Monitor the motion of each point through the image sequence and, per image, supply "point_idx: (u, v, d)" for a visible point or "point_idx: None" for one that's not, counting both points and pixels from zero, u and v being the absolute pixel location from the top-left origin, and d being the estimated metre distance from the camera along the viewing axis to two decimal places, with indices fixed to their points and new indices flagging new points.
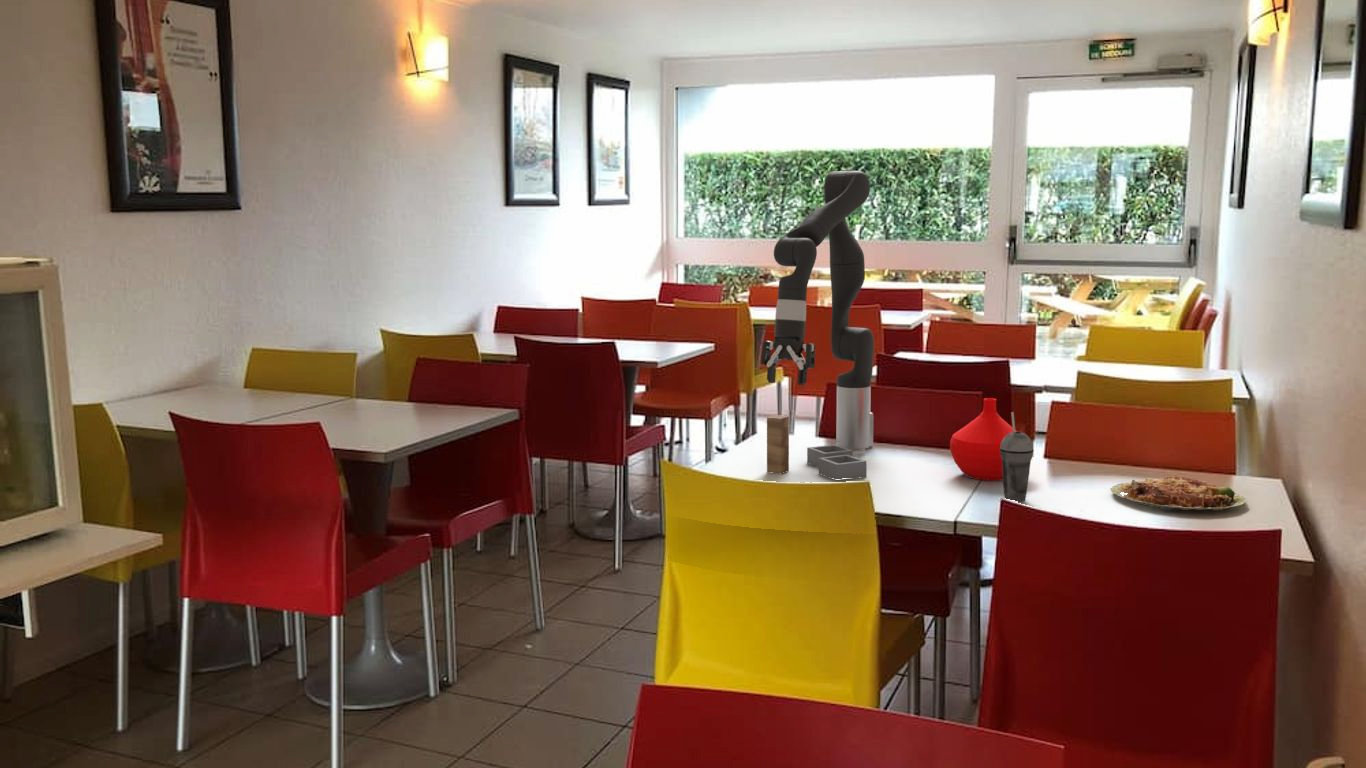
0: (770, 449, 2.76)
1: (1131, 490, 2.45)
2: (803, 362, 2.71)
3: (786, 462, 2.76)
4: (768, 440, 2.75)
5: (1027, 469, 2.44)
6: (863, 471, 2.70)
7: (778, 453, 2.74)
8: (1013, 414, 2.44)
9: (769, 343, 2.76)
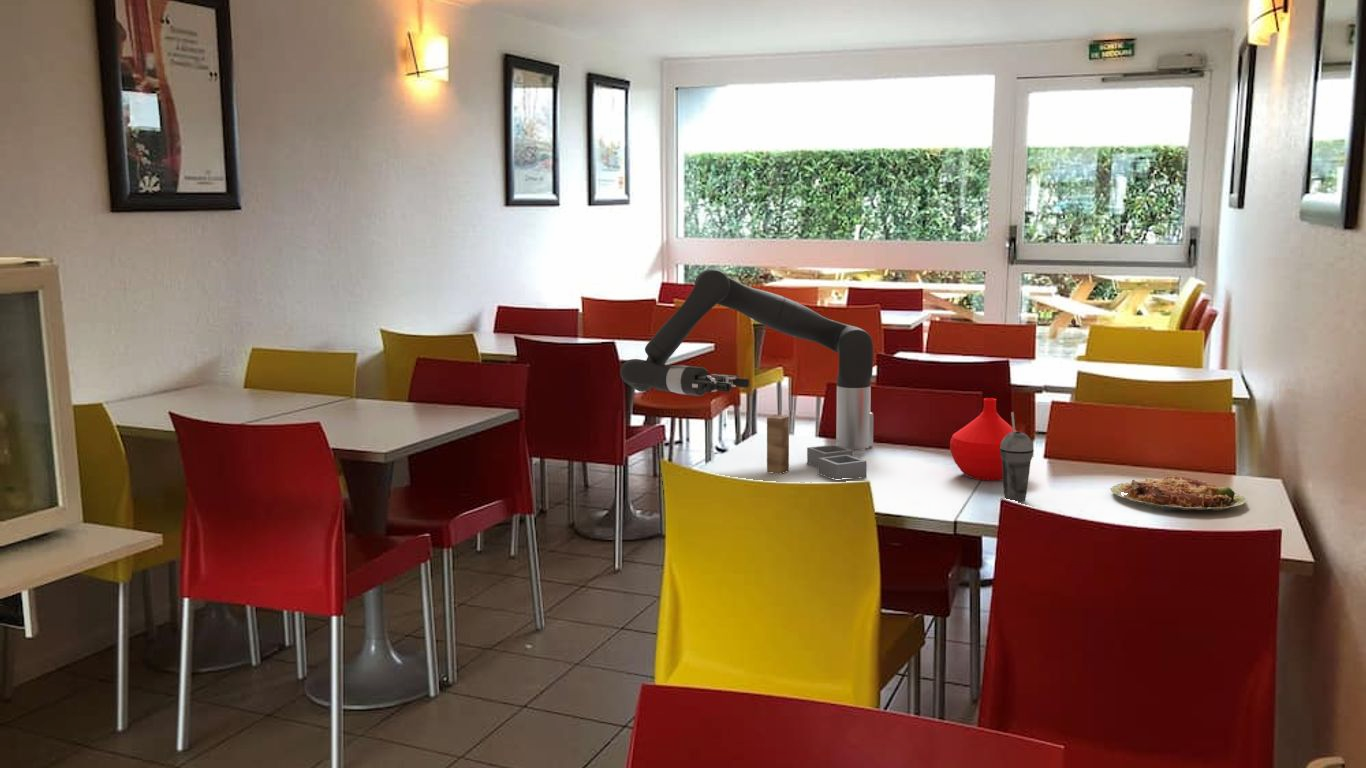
0: (770, 449, 2.76)
1: (1131, 490, 2.45)
2: None
3: (786, 462, 2.76)
4: (768, 440, 2.75)
5: (1027, 469, 2.44)
6: (863, 471, 2.70)
7: (778, 453, 2.74)
8: (1013, 414, 2.44)
9: None
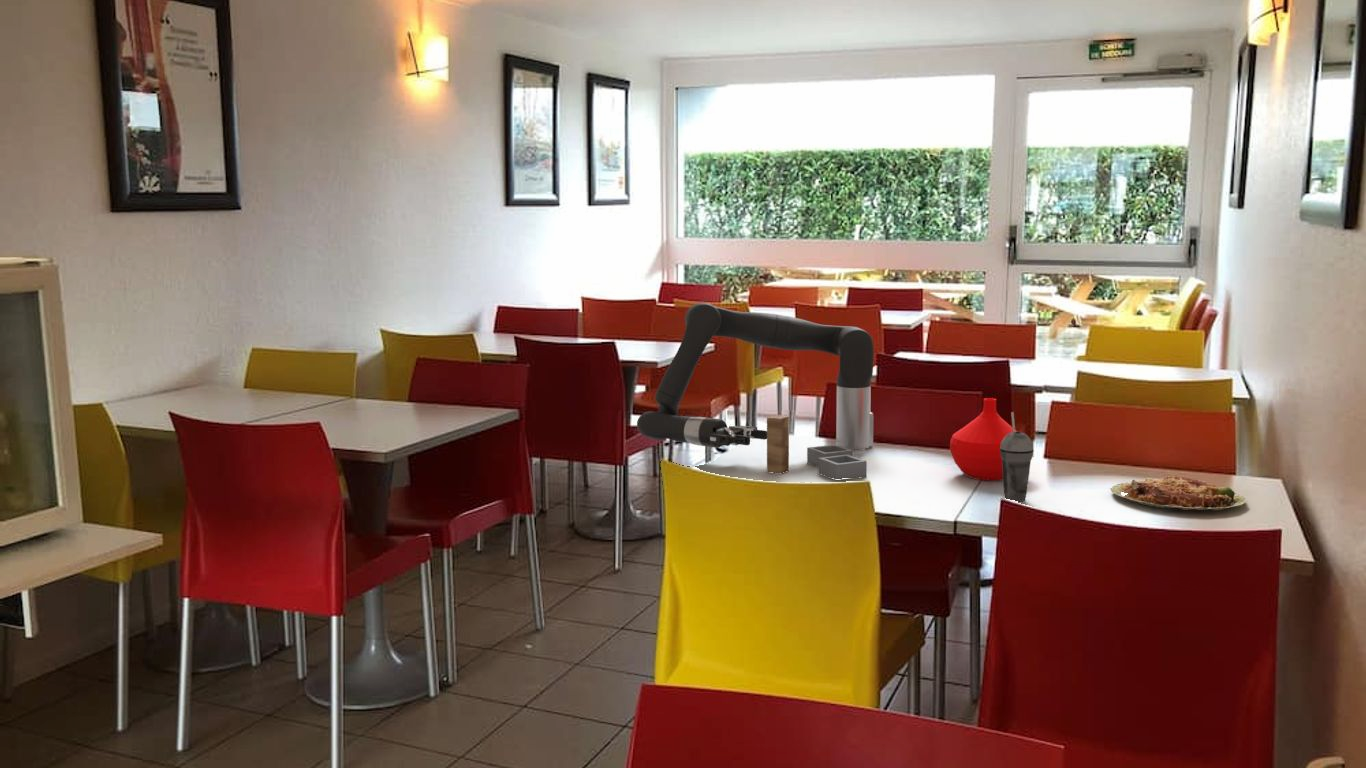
0: (770, 449, 2.76)
1: (1131, 490, 2.45)
2: (730, 435, 2.79)
3: (786, 462, 2.76)
4: (768, 440, 2.75)
5: (1027, 469, 2.44)
6: (863, 471, 2.70)
7: (778, 453, 2.74)
8: (1013, 414, 2.44)
9: None
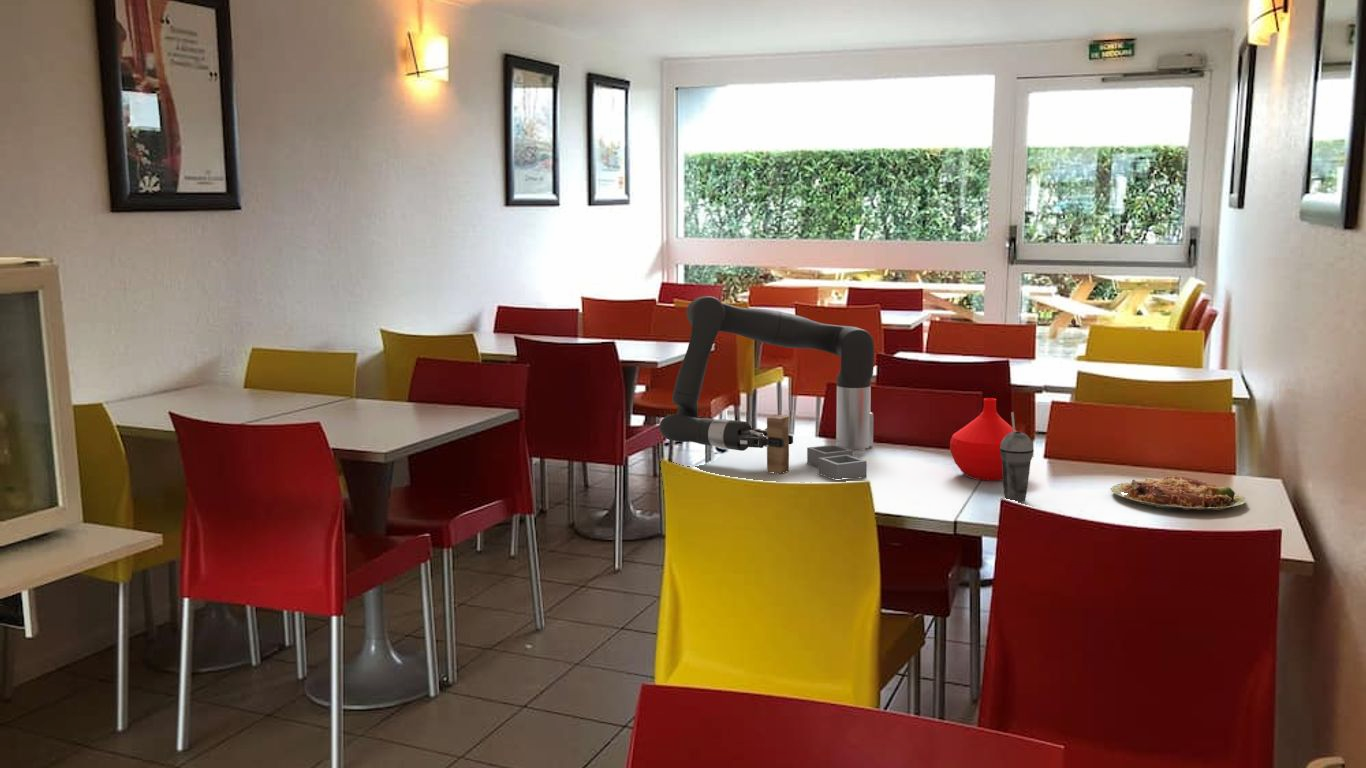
0: (770, 449, 2.76)
1: (1131, 490, 2.45)
2: None
3: (786, 462, 2.77)
4: None
5: (1027, 469, 2.44)
6: (863, 471, 2.70)
7: (778, 453, 2.74)
8: (1013, 414, 2.44)
9: None
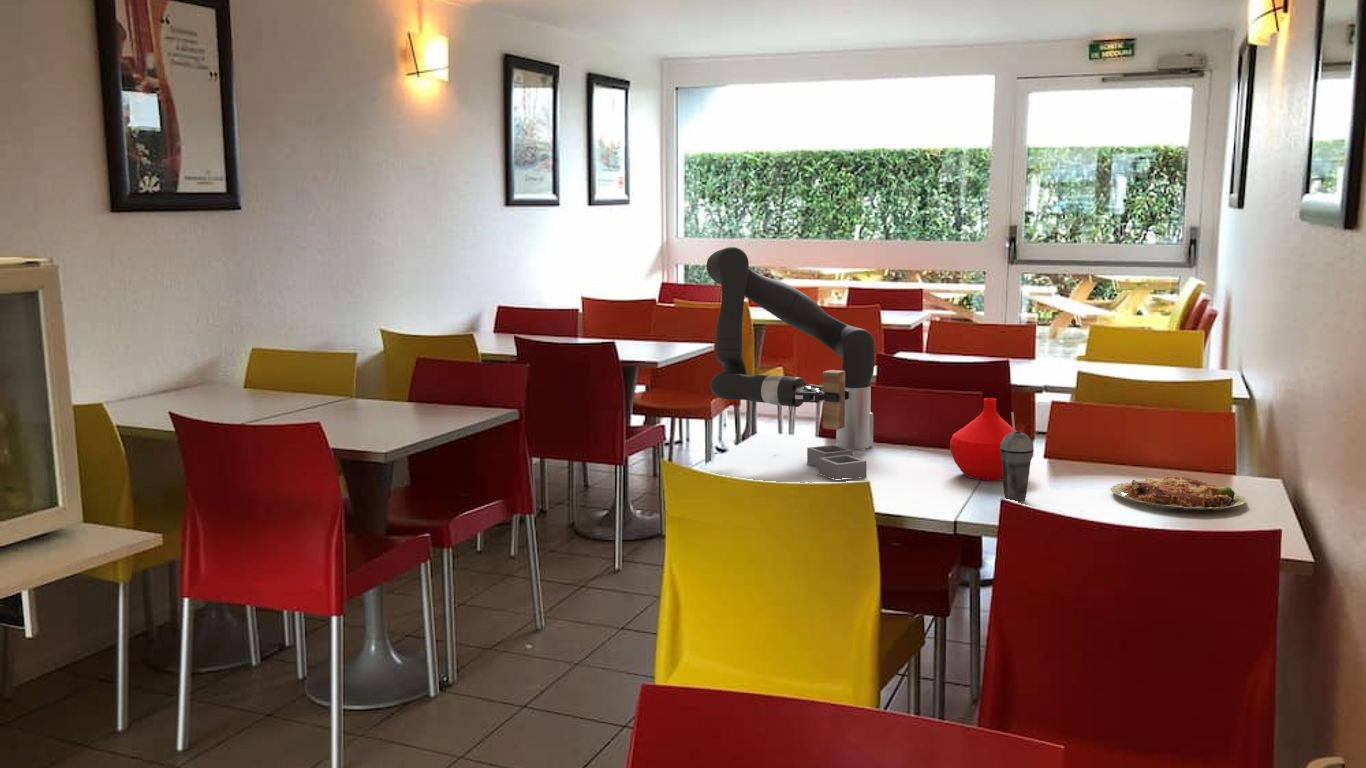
0: (826, 405, 2.70)
1: (1131, 490, 2.45)
2: None
3: (842, 418, 2.70)
4: None
5: (1027, 469, 2.44)
6: (863, 471, 2.70)
7: (834, 408, 2.68)
8: (1013, 414, 2.44)
9: None
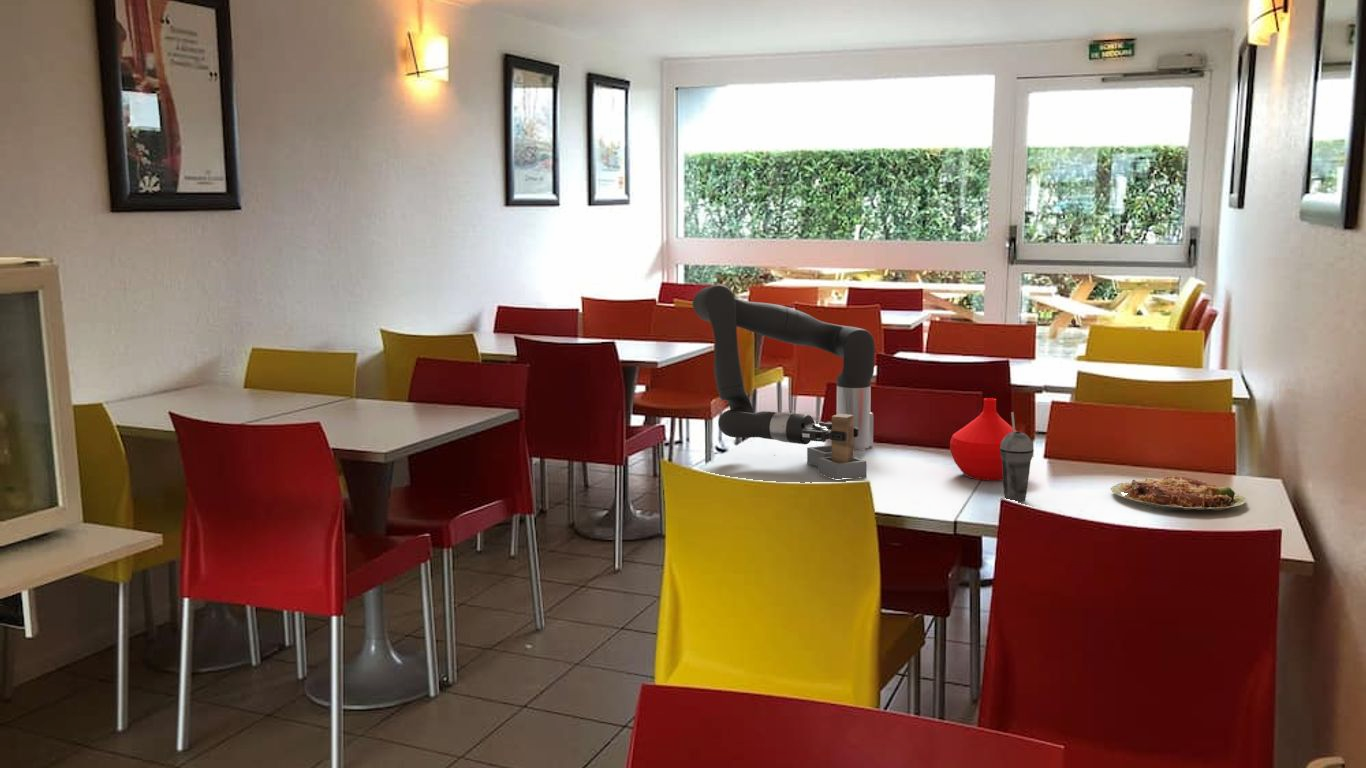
0: (834, 449, 2.70)
1: (1131, 490, 2.45)
2: None
3: None
4: None
5: (1027, 469, 2.44)
6: (863, 471, 2.70)
7: (843, 453, 2.69)
8: (1013, 414, 2.44)
9: None
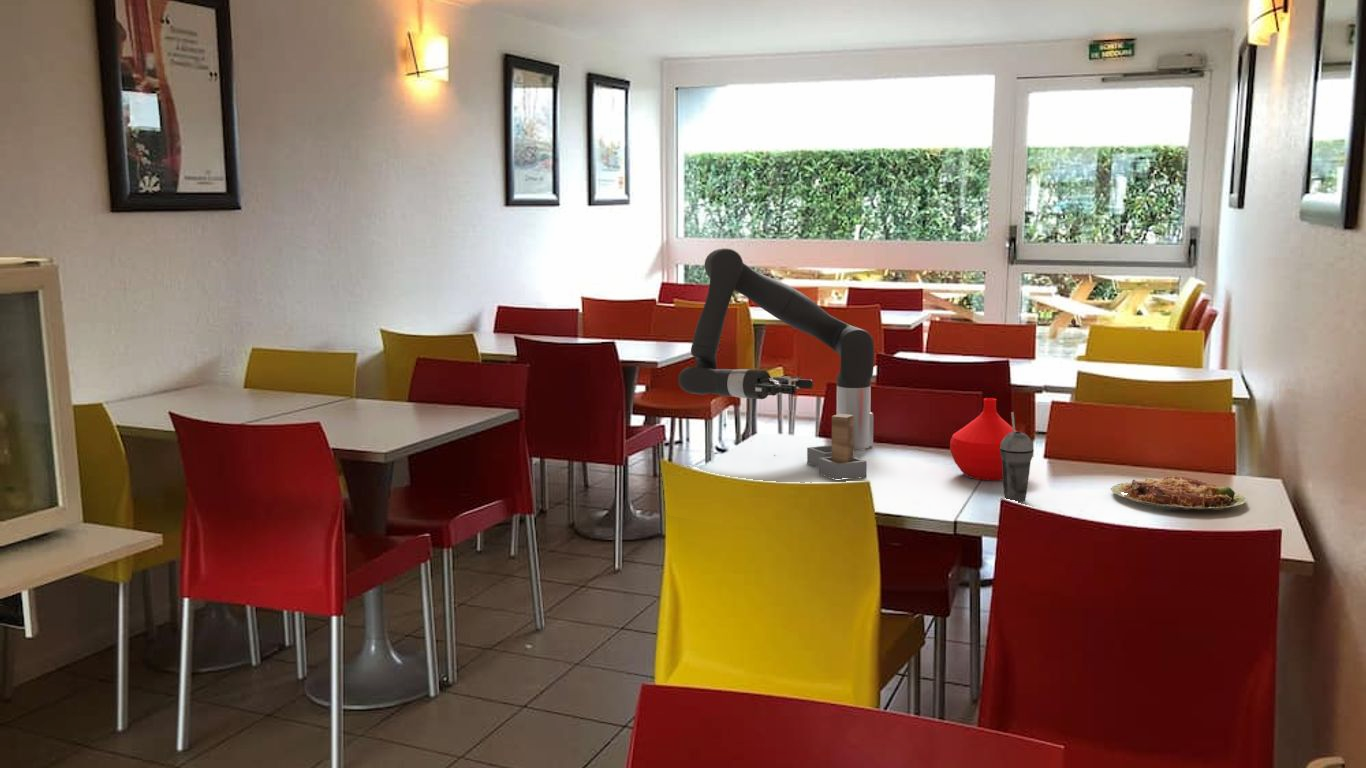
0: (834, 449, 2.70)
1: (1131, 490, 2.45)
2: (776, 385, 2.76)
3: None
4: (833, 439, 2.70)
5: (1027, 469, 2.44)
6: (863, 471, 2.70)
7: (843, 453, 2.69)
8: (1013, 414, 2.44)
9: None
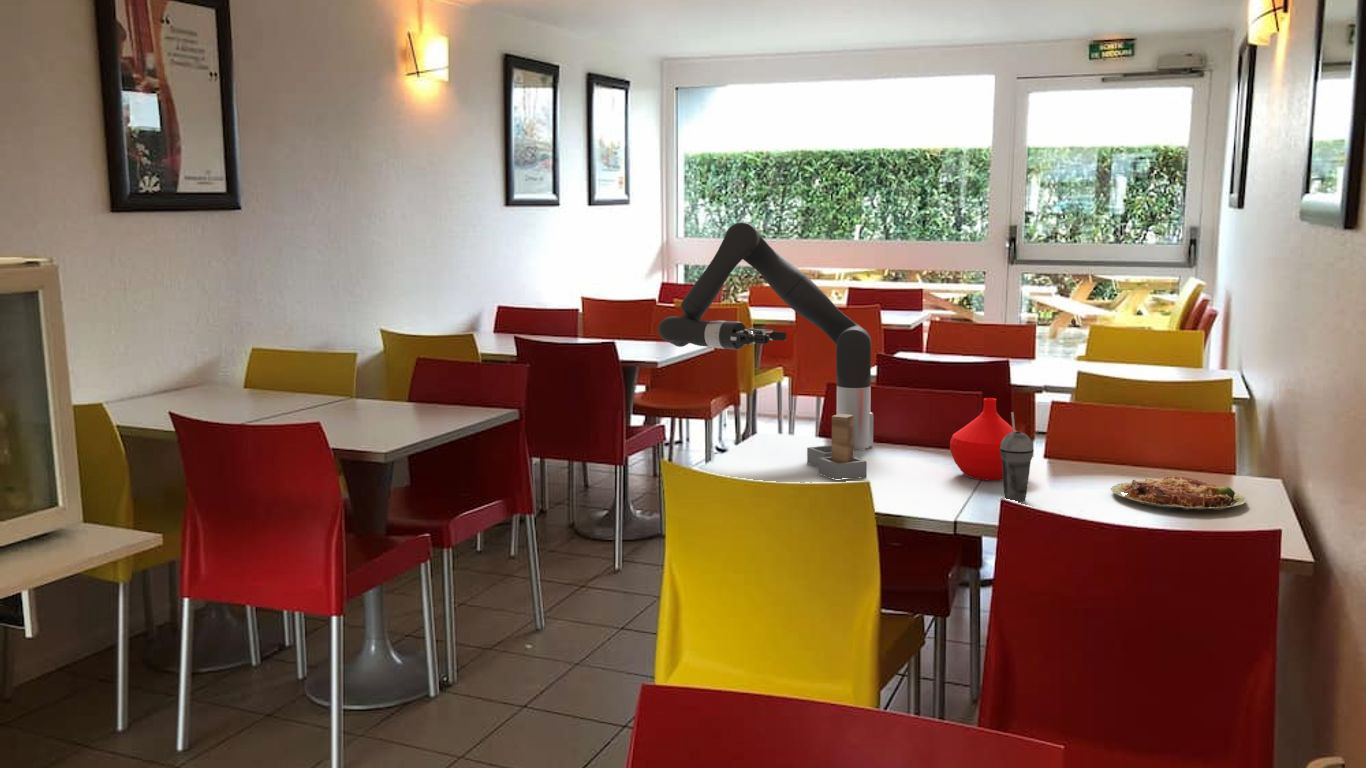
0: (834, 449, 2.70)
1: (1132, 490, 2.45)
2: None
3: None
4: (833, 439, 2.70)
5: (1027, 469, 2.44)
6: (863, 471, 2.70)
7: (843, 453, 2.69)
8: (1013, 414, 2.44)
9: None
